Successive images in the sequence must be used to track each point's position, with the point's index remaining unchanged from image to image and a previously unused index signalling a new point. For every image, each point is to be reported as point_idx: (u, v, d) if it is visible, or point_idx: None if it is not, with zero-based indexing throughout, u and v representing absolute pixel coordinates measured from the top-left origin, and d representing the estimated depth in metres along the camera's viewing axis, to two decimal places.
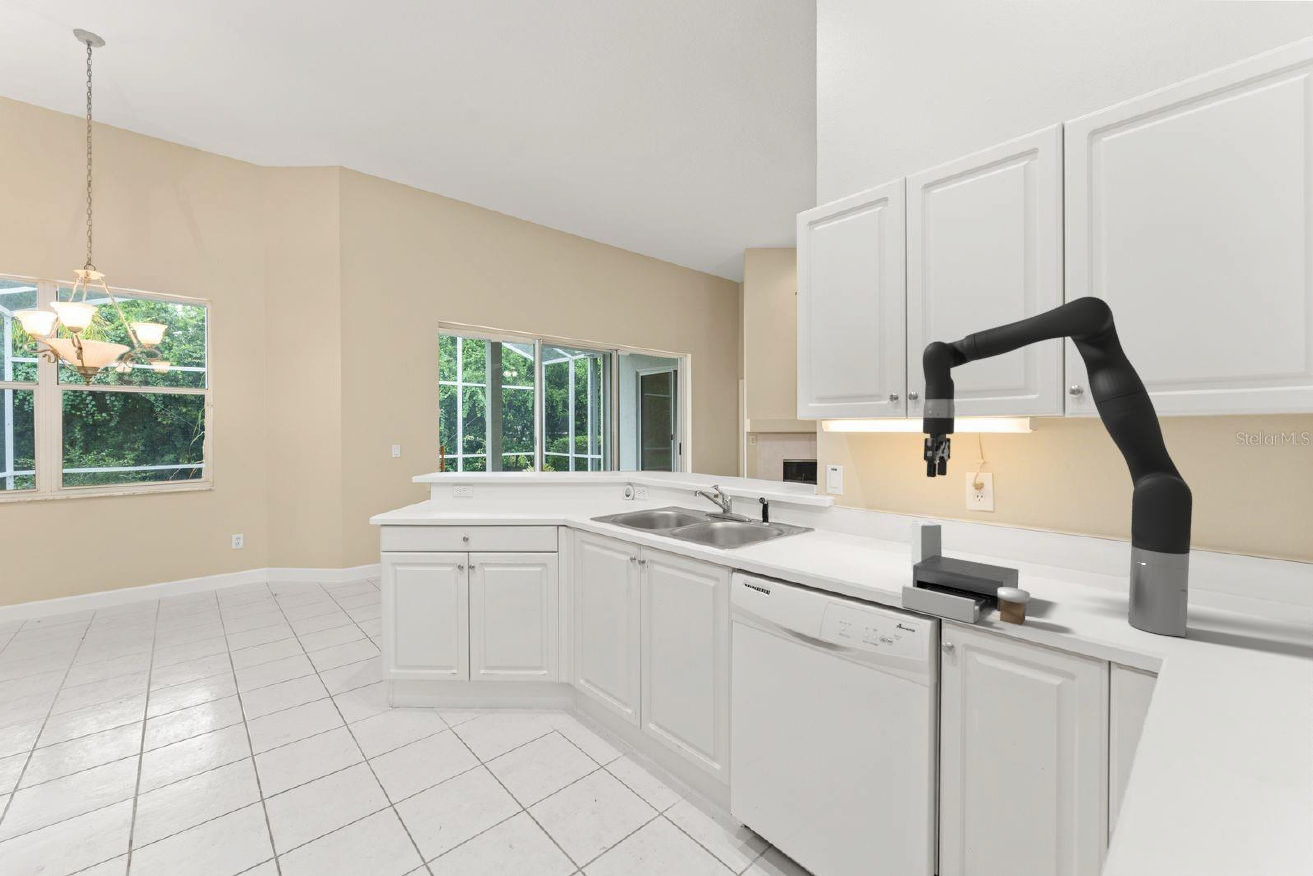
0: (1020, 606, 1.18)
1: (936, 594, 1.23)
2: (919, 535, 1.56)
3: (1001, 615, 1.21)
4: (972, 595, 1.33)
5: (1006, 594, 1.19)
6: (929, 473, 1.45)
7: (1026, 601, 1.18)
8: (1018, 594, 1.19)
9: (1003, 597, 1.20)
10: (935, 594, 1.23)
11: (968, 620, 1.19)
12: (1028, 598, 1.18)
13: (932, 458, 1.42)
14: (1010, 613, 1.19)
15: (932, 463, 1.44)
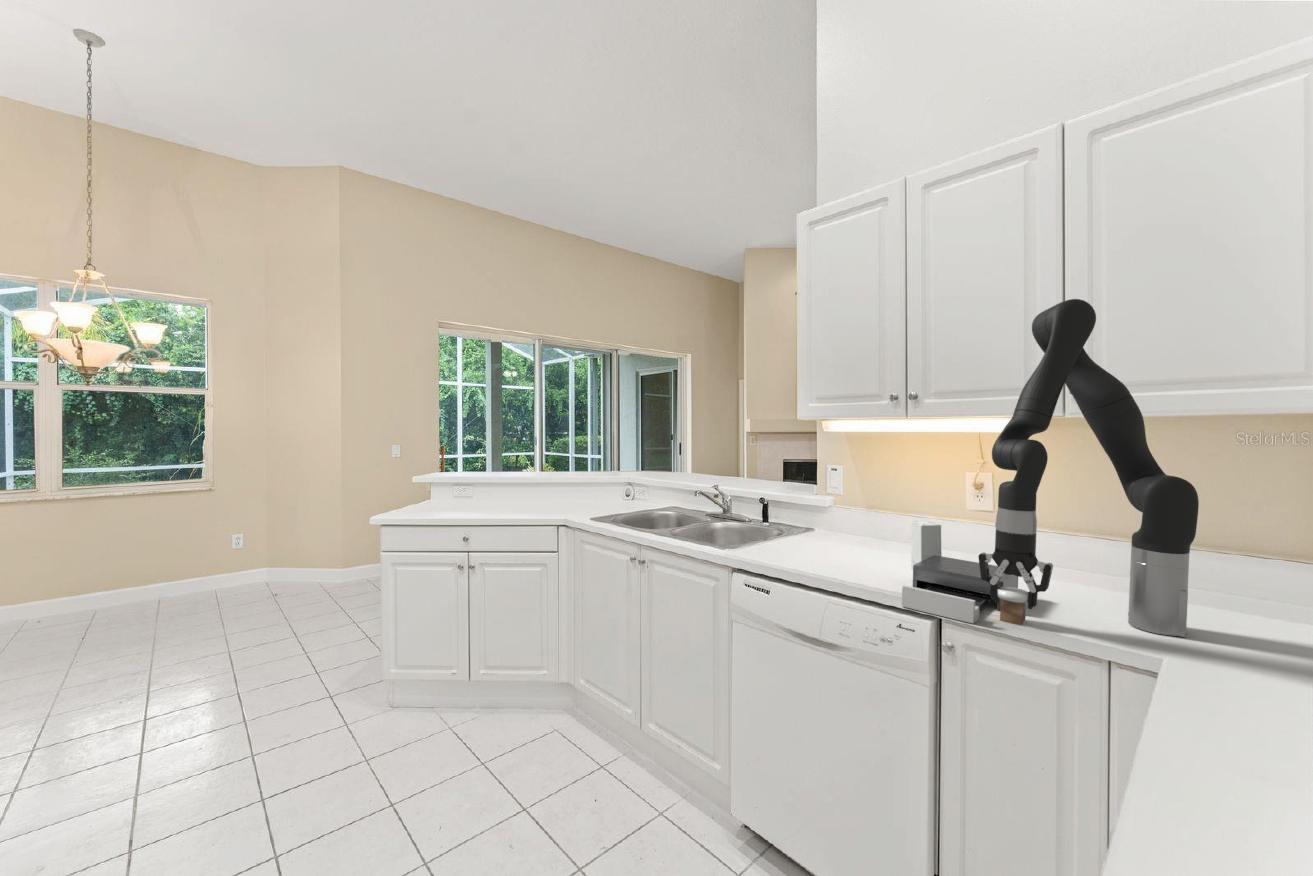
0: (1020, 606, 1.18)
1: (936, 594, 1.23)
2: (919, 535, 1.56)
3: (1001, 615, 1.21)
4: (972, 595, 1.33)
5: (1006, 594, 1.19)
6: (1035, 605, 1.18)
7: (1026, 601, 1.18)
8: (1018, 594, 1.19)
9: (1003, 597, 1.20)
10: (935, 594, 1.23)
11: (968, 620, 1.19)
12: None
13: (1047, 587, 1.17)
14: (1010, 613, 1.19)
15: None
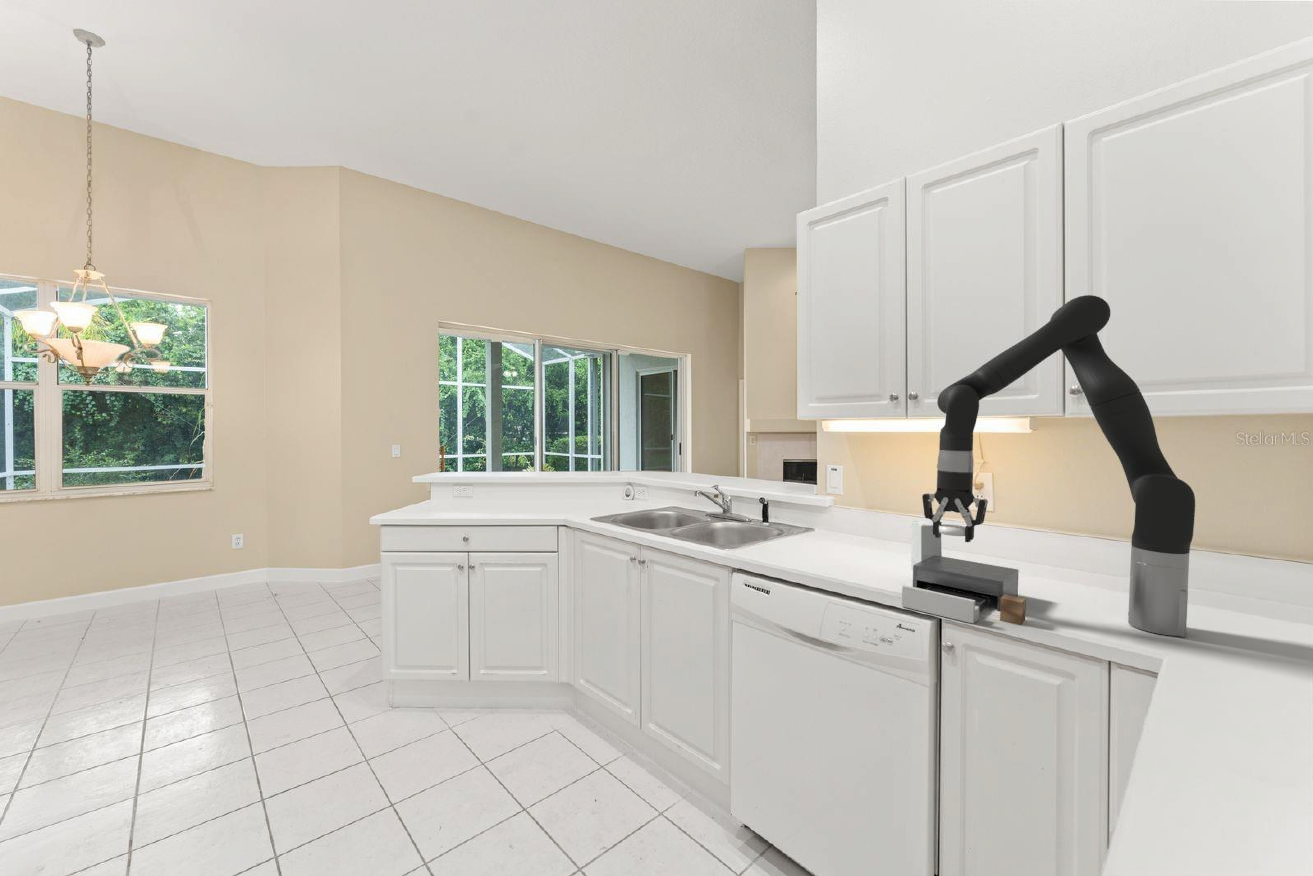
0: (1020, 606, 1.18)
1: (936, 594, 1.23)
2: (920, 535, 1.56)
3: (1001, 615, 1.21)
4: (972, 595, 1.33)
5: (945, 529, 1.29)
6: (972, 538, 1.27)
7: (963, 534, 1.28)
8: (956, 528, 1.28)
9: (943, 532, 1.29)
10: (935, 594, 1.23)
11: (968, 620, 1.19)
12: None
13: (983, 521, 1.27)
14: (1010, 613, 1.19)
15: (974, 526, 1.28)
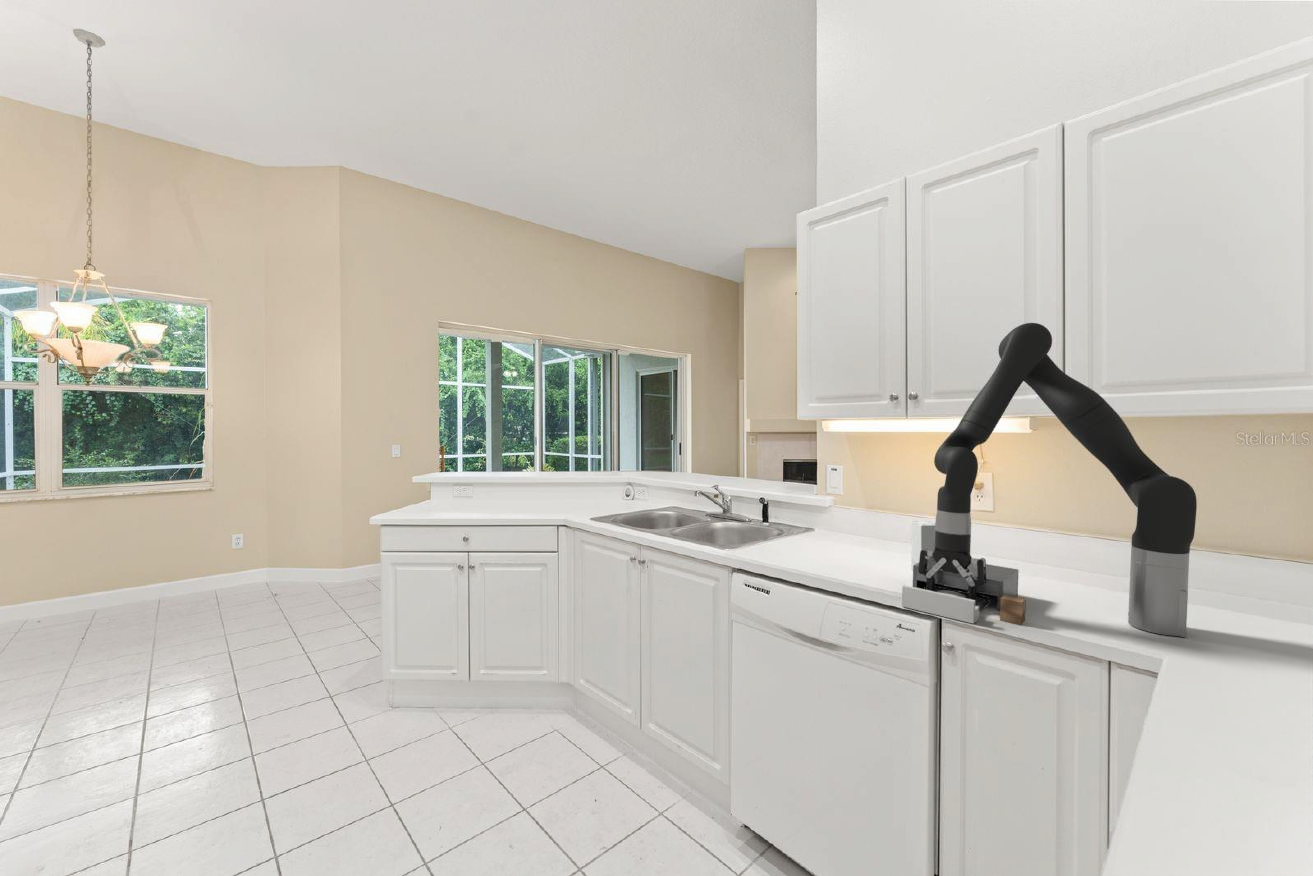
0: (1020, 606, 1.18)
1: (936, 594, 1.23)
2: (919, 535, 1.56)
3: (1001, 615, 1.21)
4: None
5: None
6: (974, 598, 1.27)
7: None
8: None
9: None
10: (935, 594, 1.23)
11: (968, 620, 1.19)
12: None
13: (985, 581, 1.27)
14: (1010, 613, 1.19)
15: (976, 586, 1.27)
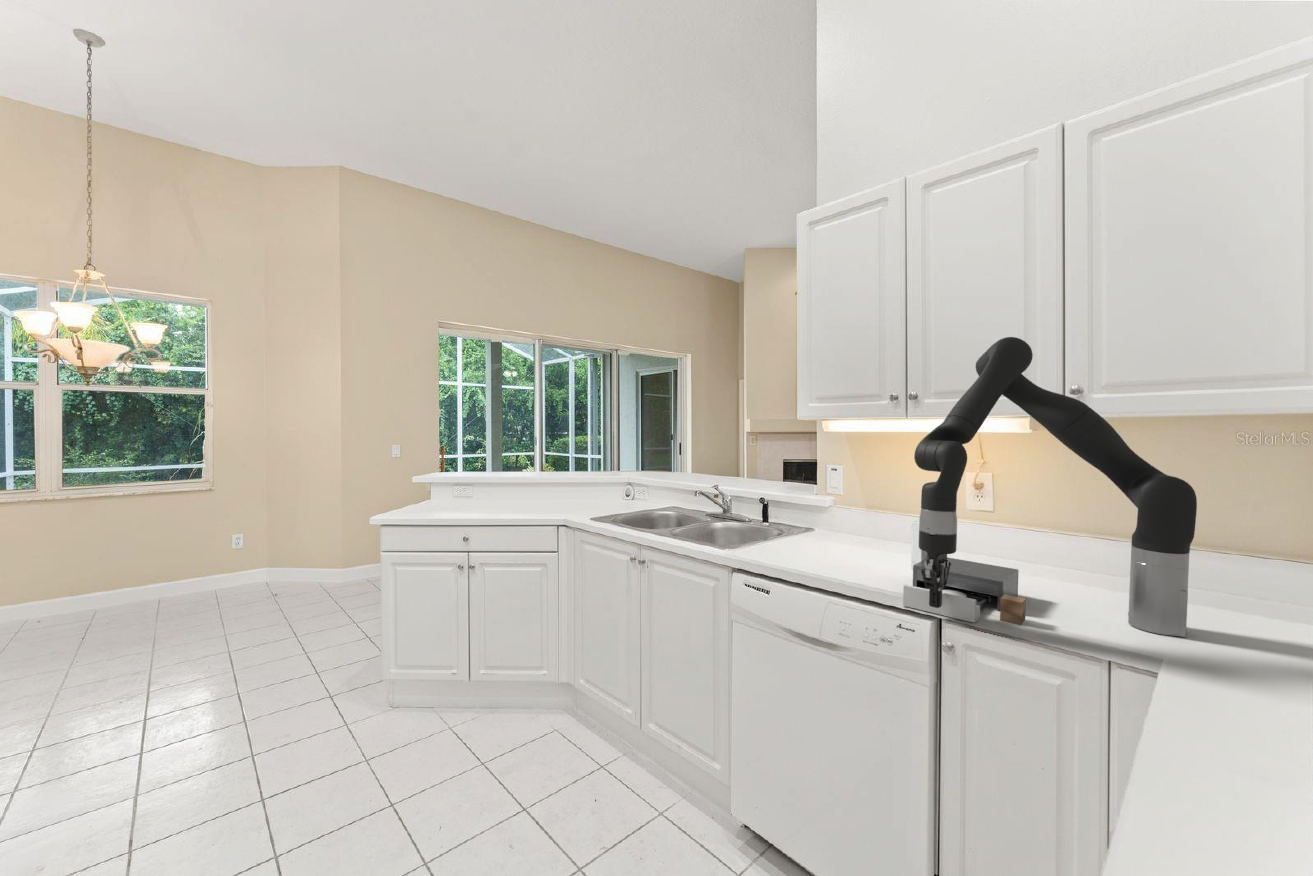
0: (1020, 606, 1.18)
1: None
2: None
3: (1001, 615, 1.21)
4: (973, 594, 1.33)
5: None
6: None
7: None
8: None
9: None
10: None
11: (969, 619, 1.19)
12: None
13: None
14: (1010, 613, 1.19)
15: None
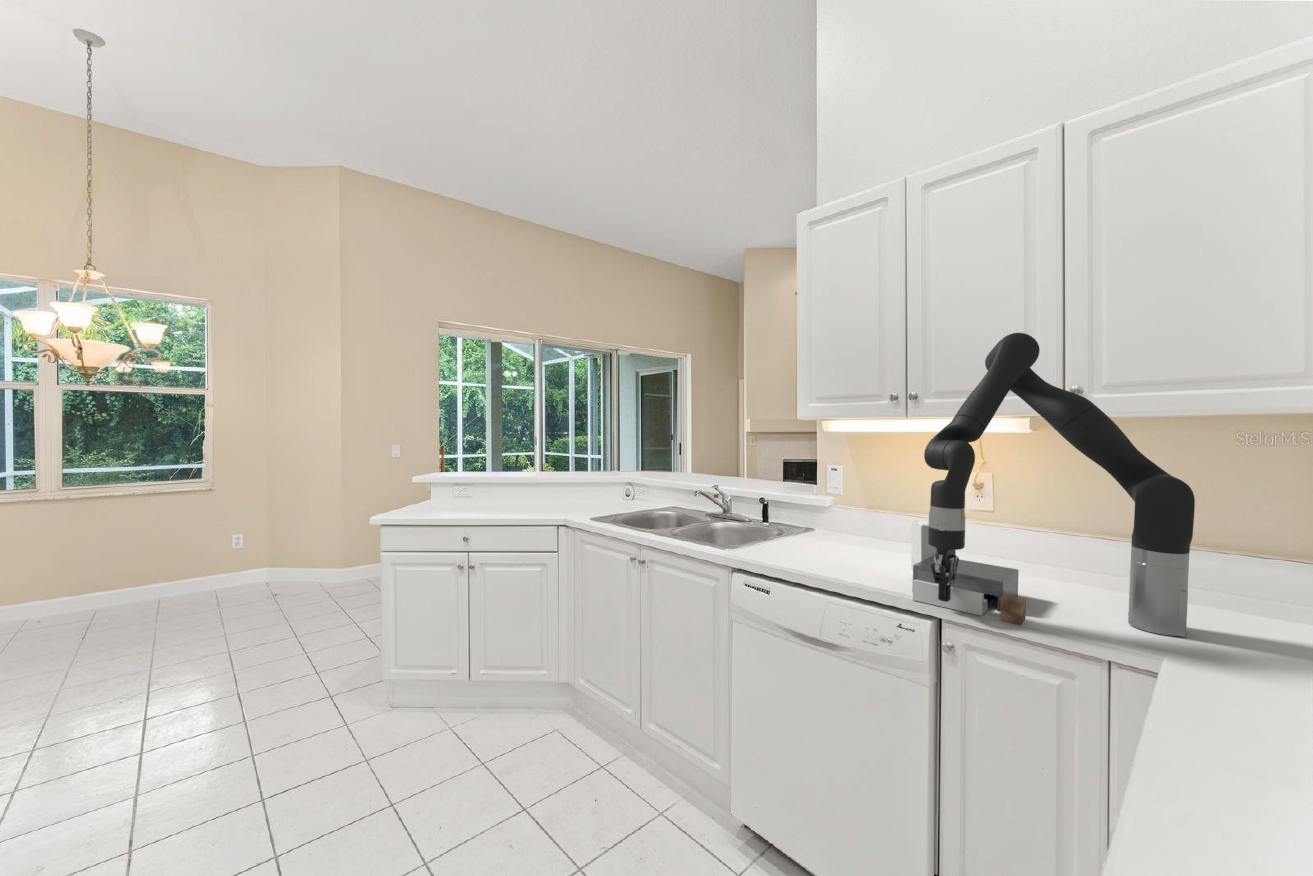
0: (1020, 606, 1.18)
1: None
2: (919, 535, 1.56)
3: (1001, 615, 1.21)
4: None
5: None
6: None
7: None
8: None
9: None
10: None
11: (977, 612, 1.24)
12: None
13: None
14: (1010, 613, 1.19)
15: None
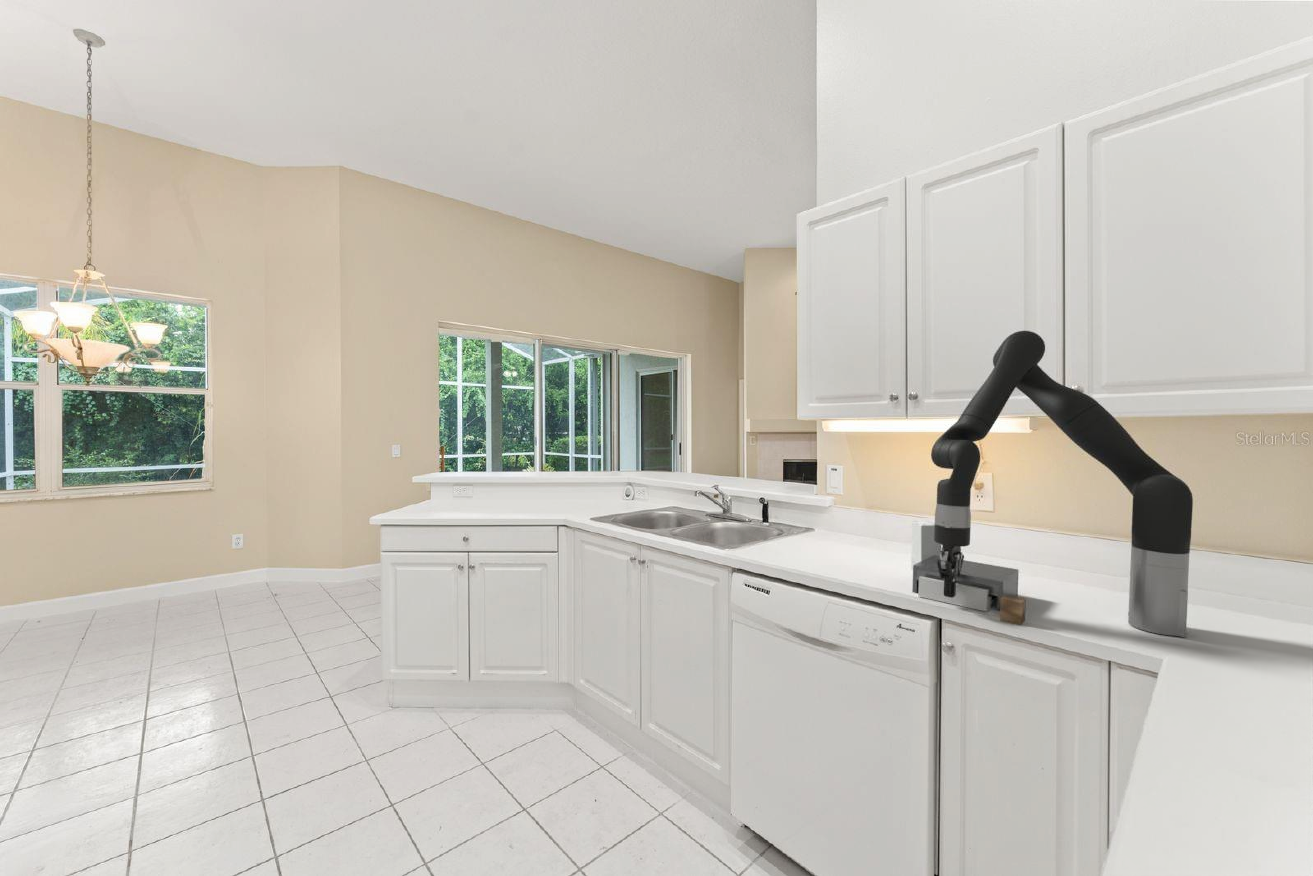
0: (1020, 606, 1.18)
1: None
2: (919, 535, 1.56)
3: (1001, 615, 1.21)
4: None
5: None
6: None
7: None
8: None
9: None
10: None
11: (982, 608, 1.27)
12: None
13: None
14: (1010, 613, 1.19)
15: None
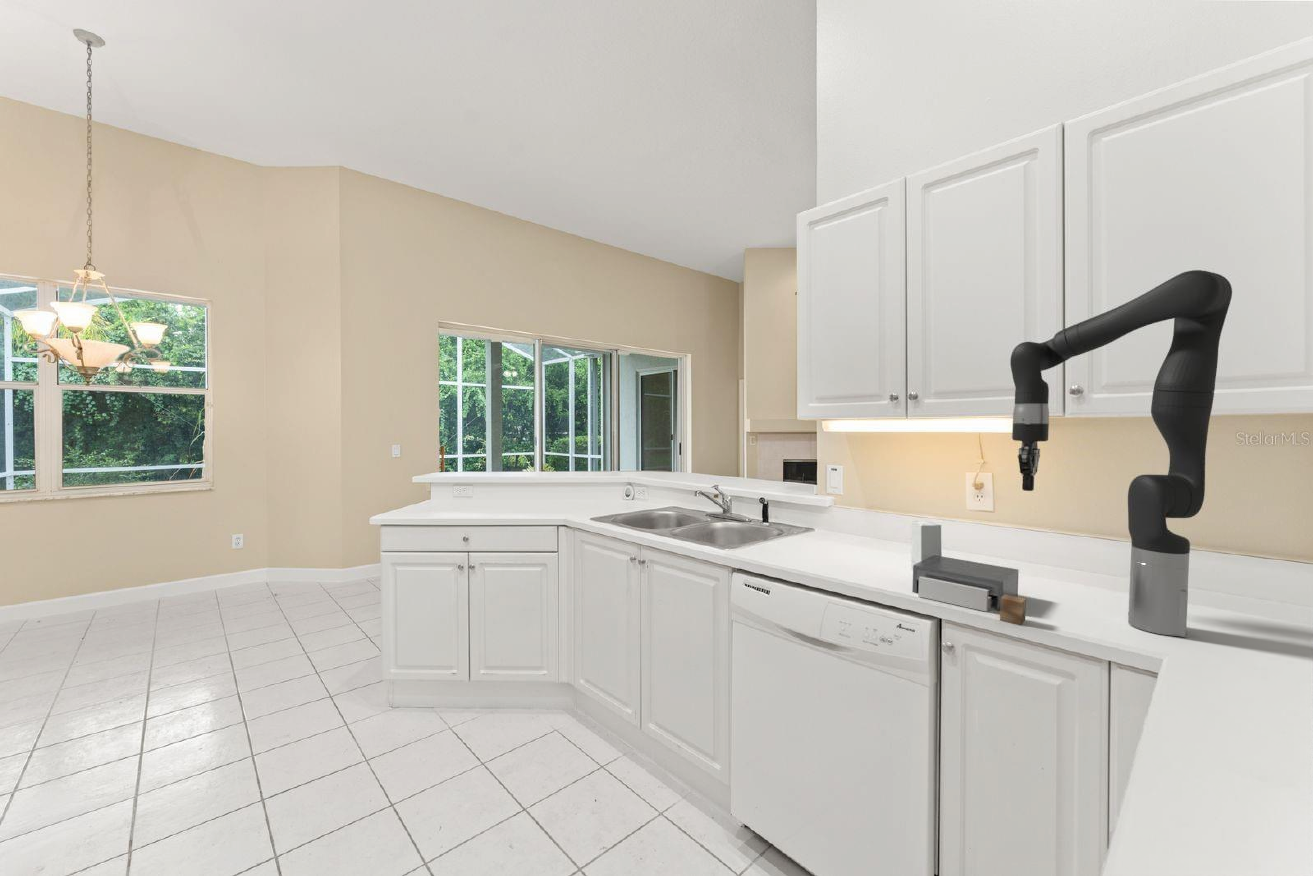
0: (1020, 606, 1.18)
1: (951, 584, 1.31)
2: (919, 535, 1.56)
3: (1001, 615, 1.21)
4: None
5: None
6: None
7: None
8: None
9: None
10: (950, 584, 1.31)
11: (982, 608, 1.27)
12: None
13: None
14: (1010, 613, 1.19)
15: None
